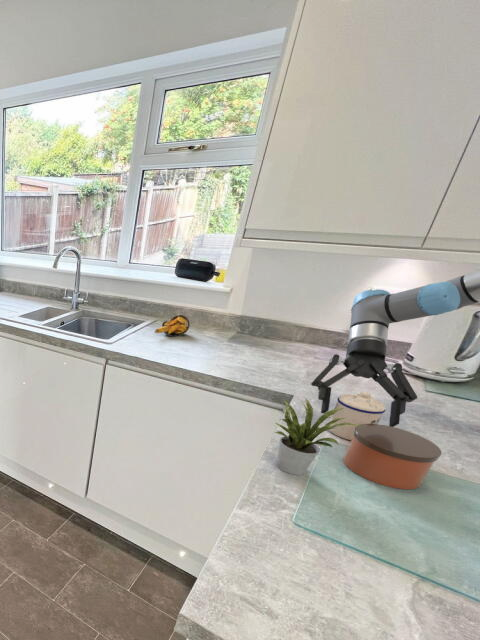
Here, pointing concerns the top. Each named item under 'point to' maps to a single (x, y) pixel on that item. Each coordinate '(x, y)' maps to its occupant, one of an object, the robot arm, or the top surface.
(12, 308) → the top surface
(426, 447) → the storage jar
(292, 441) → the house plant
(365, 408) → the teacup with lid
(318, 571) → the top surface
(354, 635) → the top surface
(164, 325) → the fried shrimp in bowl
